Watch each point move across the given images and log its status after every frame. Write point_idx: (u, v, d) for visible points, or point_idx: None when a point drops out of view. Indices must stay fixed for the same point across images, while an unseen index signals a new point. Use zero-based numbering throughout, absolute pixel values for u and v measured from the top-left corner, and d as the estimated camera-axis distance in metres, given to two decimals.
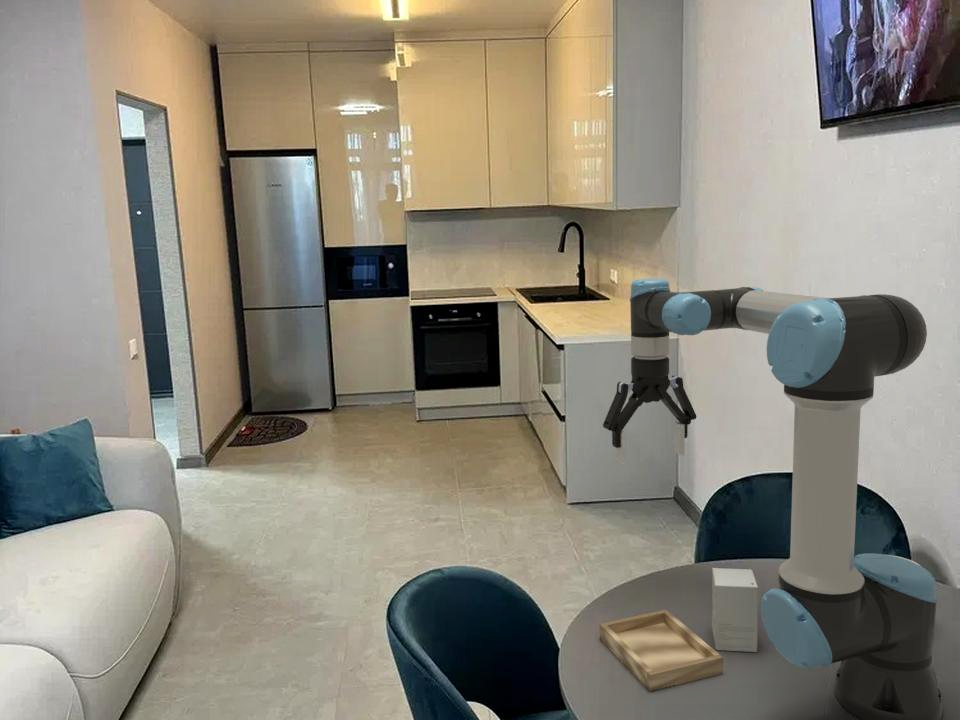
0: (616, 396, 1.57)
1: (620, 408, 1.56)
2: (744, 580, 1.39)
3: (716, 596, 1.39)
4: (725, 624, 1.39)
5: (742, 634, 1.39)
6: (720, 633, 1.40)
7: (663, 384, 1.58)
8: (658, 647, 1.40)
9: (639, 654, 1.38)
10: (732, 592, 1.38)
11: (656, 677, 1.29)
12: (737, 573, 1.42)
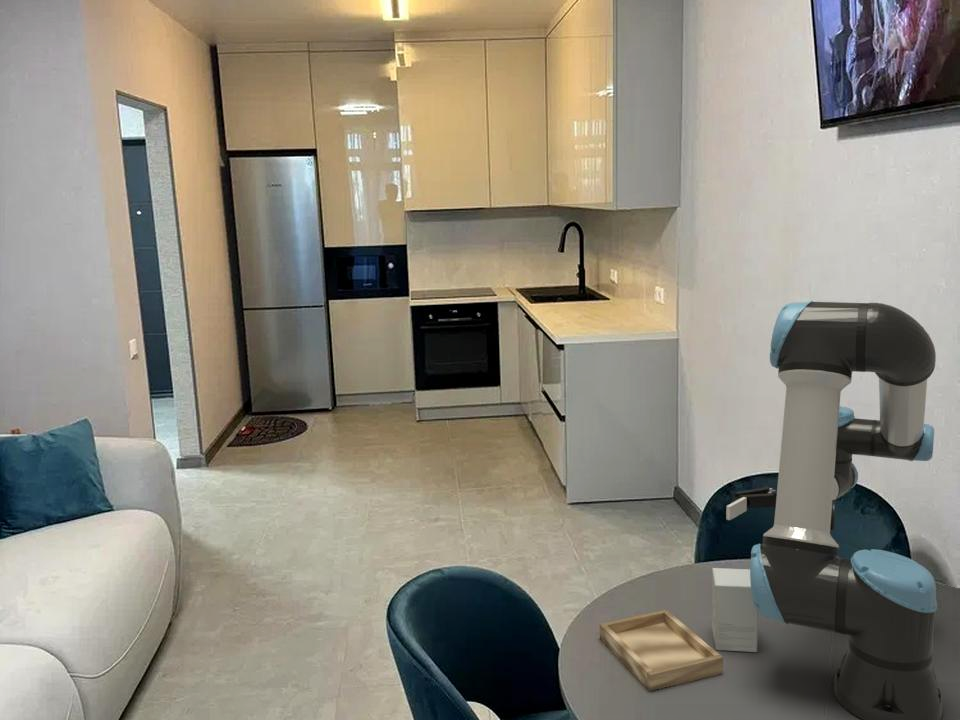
0: None
1: (754, 490, 1.59)
2: (744, 580, 1.39)
3: (716, 596, 1.39)
4: (725, 624, 1.39)
5: (742, 634, 1.39)
6: (720, 633, 1.40)
7: None
8: (658, 647, 1.40)
9: (639, 654, 1.38)
10: (732, 592, 1.38)
11: (656, 677, 1.29)
12: (737, 573, 1.42)
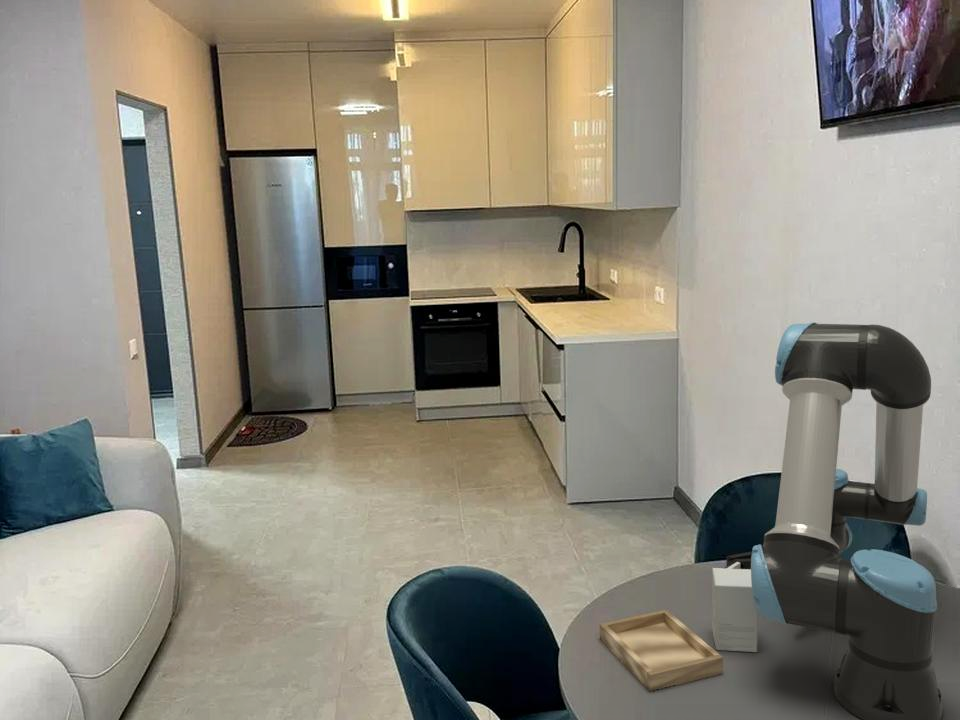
0: None
1: (748, 554, 1.60)
2: (744, 580, 1.39)
3: (716, 596, 1.39)
4: (725, 624, 1.39)
5: (742, 634, 1.39)
6: (720, 633, 1.40)
7: None
8: (658, 647, 1.40)
9: (639, 654, 1.38)
10: (732, 592, 1.38)
11: (656, 677, 1.29)
12: (737, 573, 1.42)
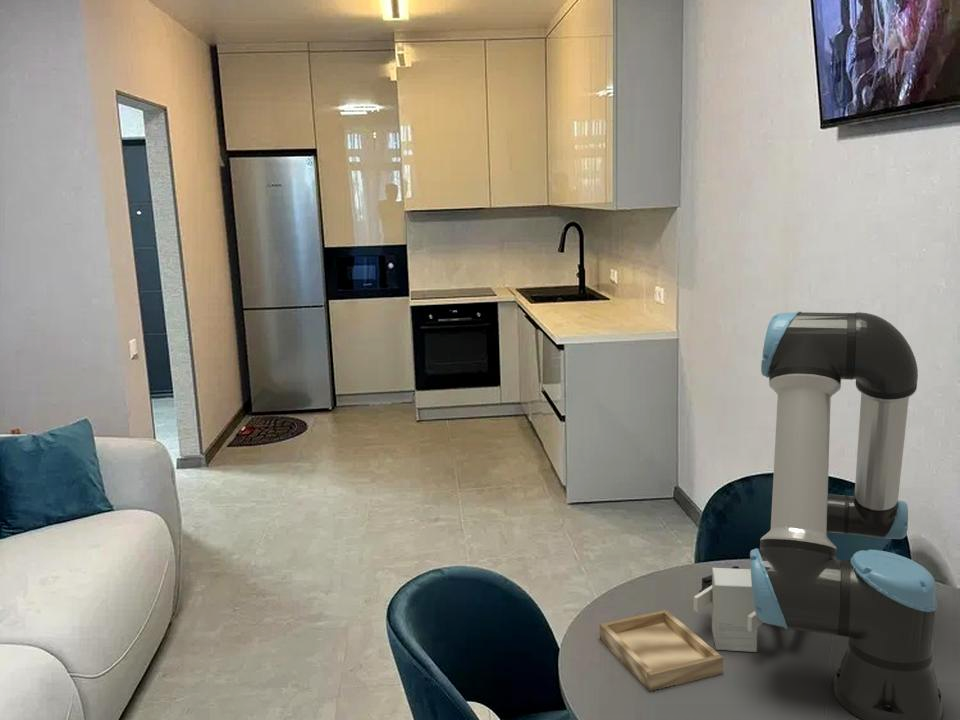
0: None
1: None
2: (744, 580, 1.39)
3: (716, 596, 1.39)
4: (725, 623, 1.39)
5: (742, 634, 1.39)
6: (720, 633, 1.40)
7: None
8: (658, 647, 1.40)
9: (639, 654, 1.38)
10: (732, 591, 1.38)
11: (656, 677, 1.29)
12: (737, 573, 1.42)
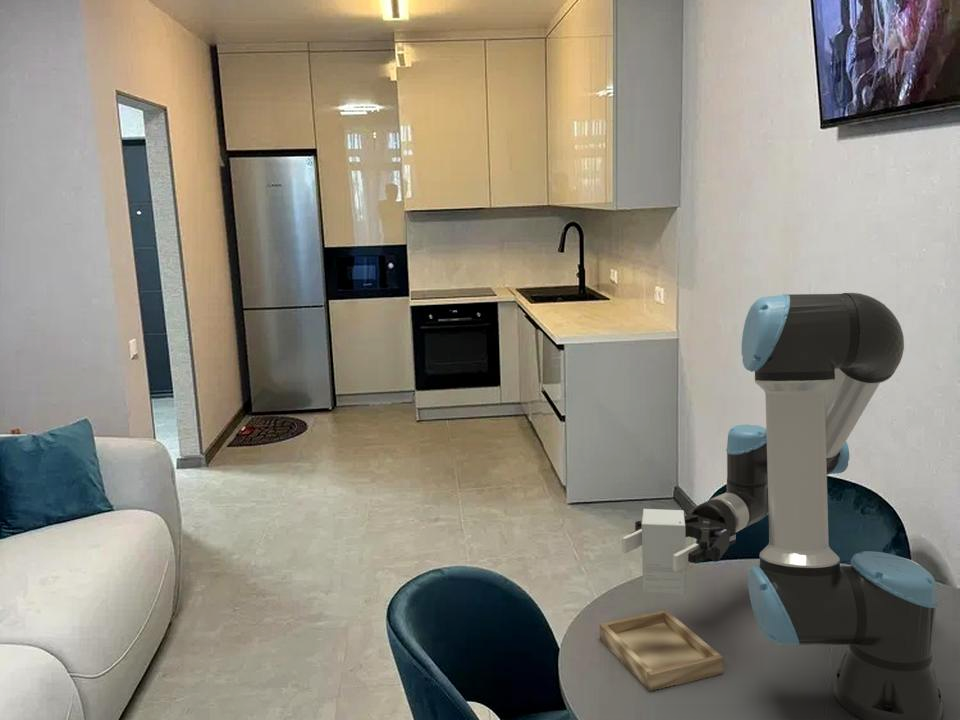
0: None
1: None
2: (672, 519, 1.35)
3: (643, 535, 1.34)
4: (652, 564, 1.35)
5: (669, 575, 1.34)
6: (647, 574, 1.35)
7: (714, 524, 1.43)
8: (658, 647, 1.40)
9: (639, 654, 1.38)
10: (659, 530, 1.33)
11: (656, 677, 1.29)
12: (667, 513, 1.38)
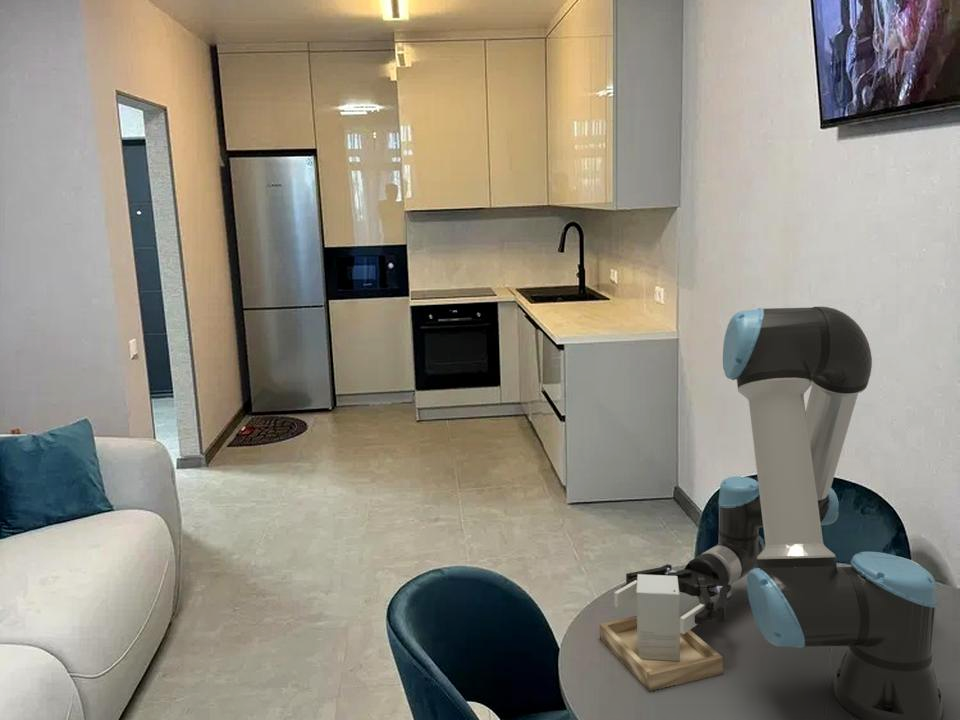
0: None
1: (650, 571, 1.49)
2: (667, 587, 1.36)
3: (637, 603, 1.35)
4: (647, 632, 1.36)
5: (664, 643, 1.35)
6: (642, 641, 1.36)
7: (707, 580, 1.44)
8: None
9: None
10: (653, 599, 1.34)
11: (656, 677, 1.29)
12: (662, 579, 1.39)
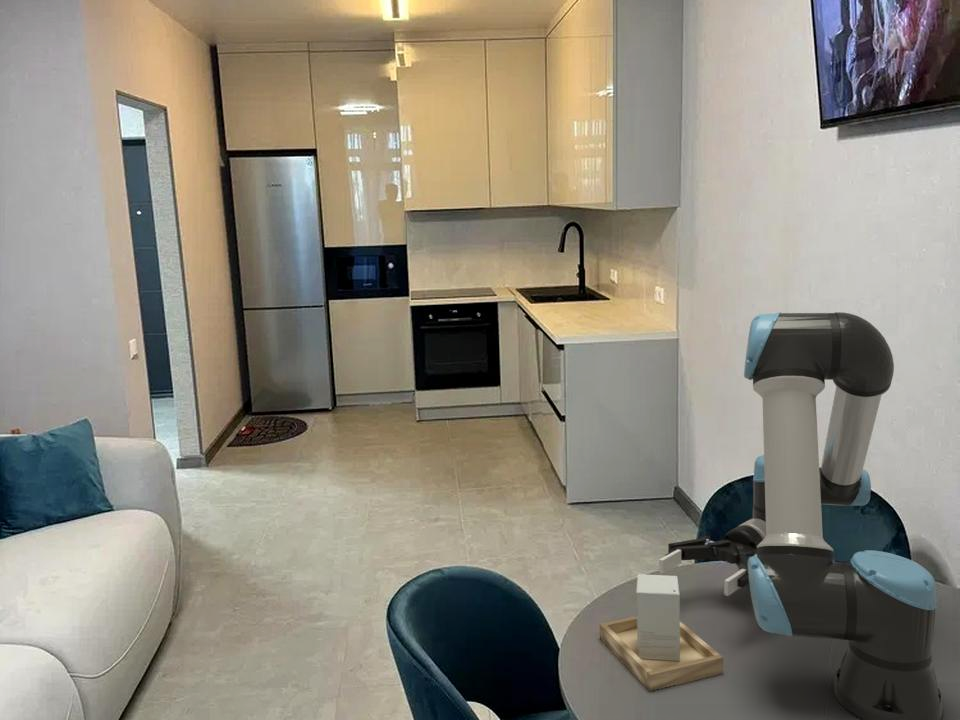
0: None
1: (690, 541, 1.58)
2: (667, 587, 1.36)
3: (637, 603, 1.35)
4: (647, 632, 1.36)
5: (664, 643, 1.35)
6: (642, 641, 1.36)
7: (745, 549, 1.53)
8: None
9: None
10: (653, 599, 1.34)
11: (656, 677, 1.29)
12: (662, 579, 1.39)
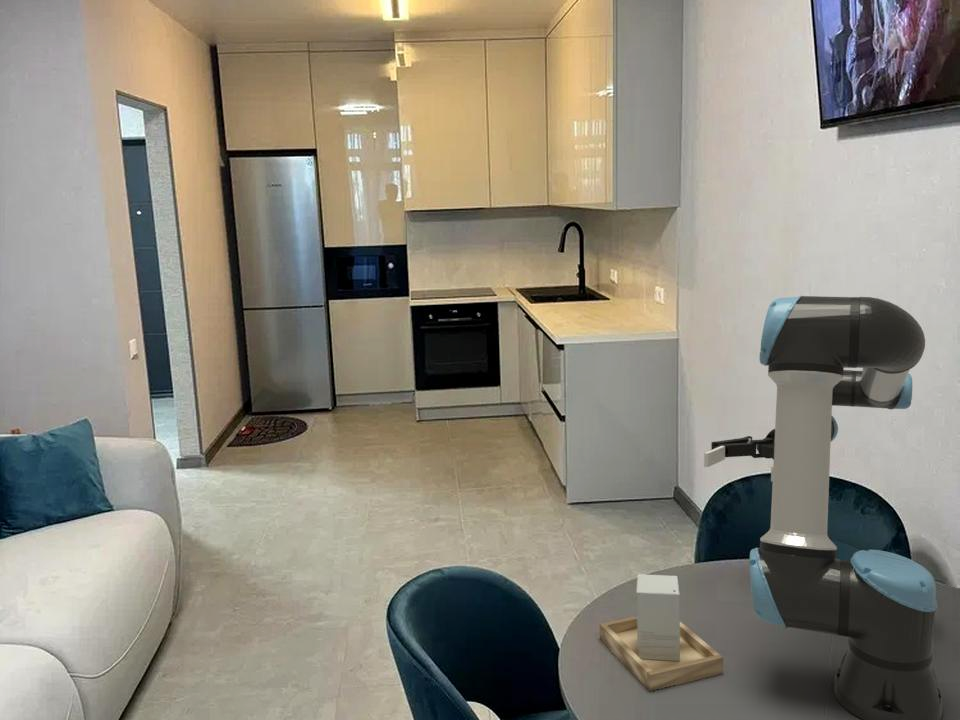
0: None
1: (733, 440, 1.60)
2: (667, 587, 1.36)
3: (637, 603, 1.35)
4: (647, 632, 1.36)
5: (664, 643, 1.35)
6: (642, 641, 1.36)
7: None
8: None
9: None
10: (653, 599, 1.34)
11: (656, 677, 1.29)
12: (662, 579, 1.39)
